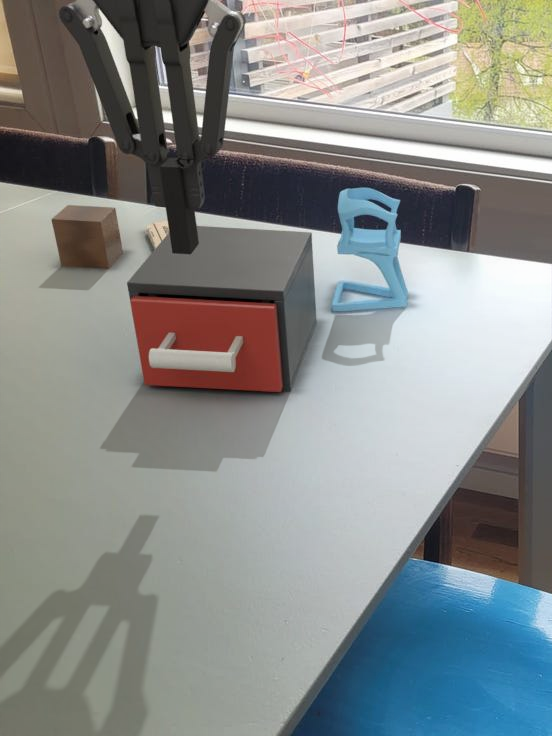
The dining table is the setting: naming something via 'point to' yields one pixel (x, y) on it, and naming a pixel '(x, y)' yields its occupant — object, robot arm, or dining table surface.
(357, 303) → the chair
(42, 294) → the dining table surface
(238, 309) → the red drawer
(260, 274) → the grey drawer unit
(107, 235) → the walnut block
